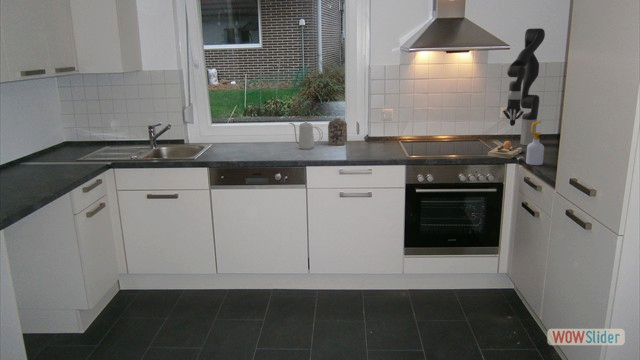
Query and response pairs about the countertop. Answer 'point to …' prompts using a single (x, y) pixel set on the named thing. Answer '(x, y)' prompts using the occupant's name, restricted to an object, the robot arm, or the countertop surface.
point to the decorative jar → (337, 132)
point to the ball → (507, 144)
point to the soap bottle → (535, 149)
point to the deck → (505, 152)
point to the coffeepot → (306, 135)
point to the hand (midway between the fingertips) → (512, 125)
